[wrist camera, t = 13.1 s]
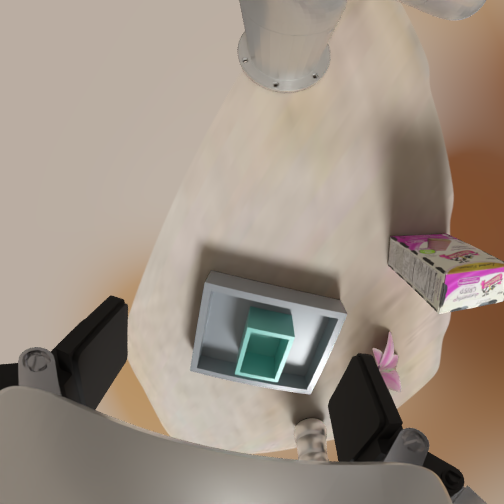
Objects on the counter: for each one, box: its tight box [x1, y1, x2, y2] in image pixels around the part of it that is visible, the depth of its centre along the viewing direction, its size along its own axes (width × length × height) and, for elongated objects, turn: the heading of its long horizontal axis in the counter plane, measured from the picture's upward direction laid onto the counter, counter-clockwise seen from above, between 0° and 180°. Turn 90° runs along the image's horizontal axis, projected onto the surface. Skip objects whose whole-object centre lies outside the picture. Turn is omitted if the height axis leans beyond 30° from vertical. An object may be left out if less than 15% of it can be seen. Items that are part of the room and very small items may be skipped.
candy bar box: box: [388, 234, 504, 314], centre depth 32 cm, size 11×5×16 cm, turn 94°
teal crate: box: [235, 306, 295, 382], centre depth 41 cm, size 8×6×6 cm
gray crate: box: [190, 270, 347, 394], centre depth 43 cm, size 16×20×4 cm
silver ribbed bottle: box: [294, 418, 329, 461], centre depth 42 cm, size 6×7×20 cm
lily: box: [372, 331, 401, 392], centre depth 42 cm, size 12×12×10 cm
